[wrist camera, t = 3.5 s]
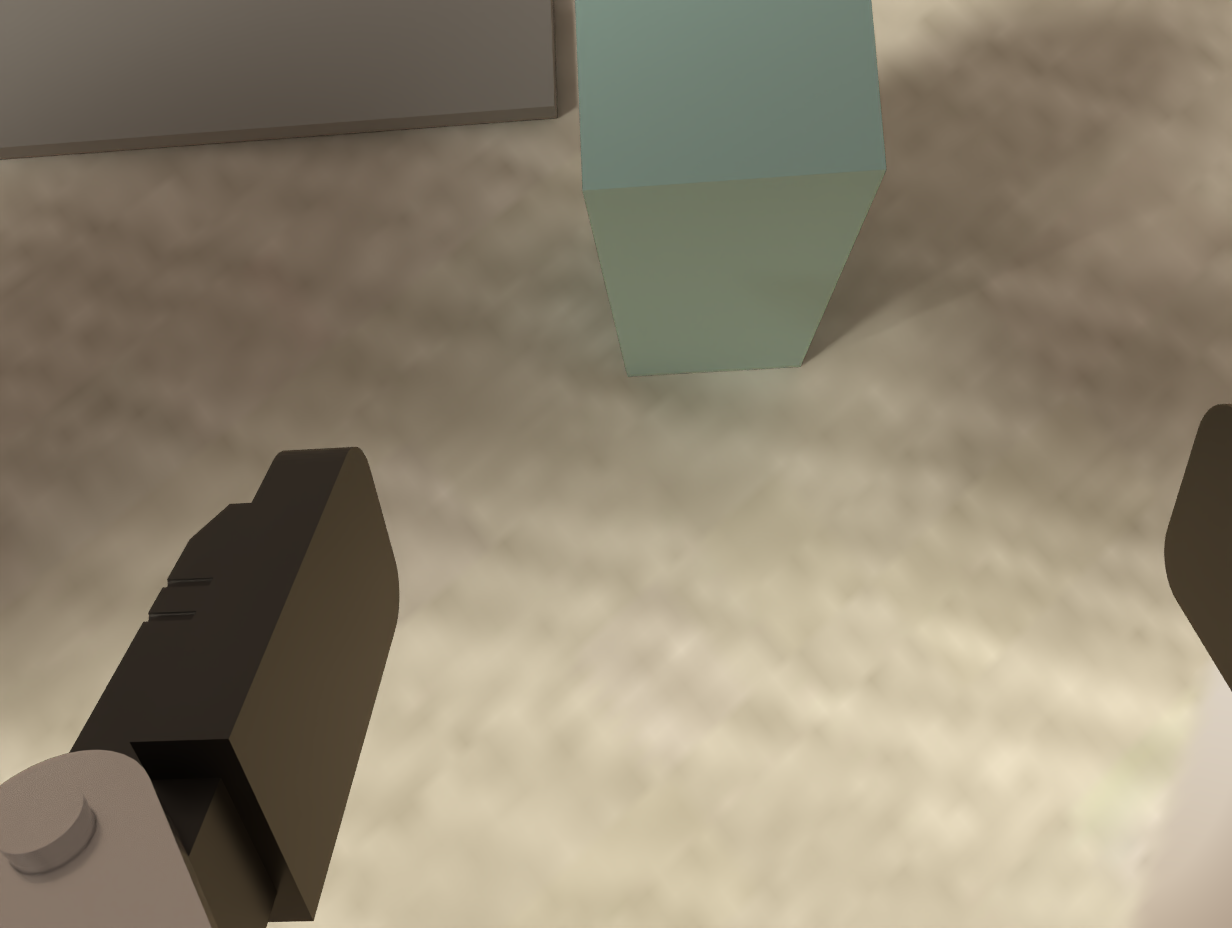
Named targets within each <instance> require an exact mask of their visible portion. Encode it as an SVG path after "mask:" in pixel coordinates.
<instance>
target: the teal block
mask: <svg viewBox="0 0 1232 928" xmlns="http://www.w3.org/2000/svg"><path fill="white" fill-rule="evenodd" d="M575 10H576V36H577V62H578V87H579V113H580V139H581V164H582V190H583V195H584V199H585V203H586V207H587V211H588V215H589V219H590V224H591V228H592V232H593V236H594V240H595V244H596V248H597V252H598V257H599V261H600V265H601V269H602V273H603V277H604V281H605V286H606V290H607V294H608V298H609V302H610V306H611V310H612V314H613V319H614V323H615V327H616V331H617V335H618V339H619V343H620V348H621V352H622V356H623V360H624V364H625V368H626V372H627V376H628V377H630V376H647V375H665V374H682V373H699V372H716V371H734V370H751V369H768V368H785V367H800V366H801V364H802V362H803V360H804V357H805V355H806V353H807V350H808V348H809V346H810V344H811V341H812V339H813V337H814V334H815V332H816V330H817V327H818V325H819V323H820V321H821V318H822V316H823V314H824V311H825V309H826V307H827V305H828V302H829V300H830V298H831V295H832V293H833V291H834V289H835V286H836V284H837V282H838V279H839V277H840V275H841V272H842V270H843V268H844V266H845V263H846V261H847V259H848V256H849V254H850V252H851V250H852V247H853V245H854V243H855V240H856V238H857V236H858V233H859V231H860V229H861V227H862V224H863V222H864V220H865V217H866V215H867V213H868V211H869V208H870V206H871V204H872V201H873V199H874V197H875V195H876V192H877V190H878V188H879V185H880V183H881V181H882V178H883V176H884V174H885V172H886V159H885V148H884V137H883V126H882V114H881V103H880V92H879V81H878V70H877V59H876V48H875V37H874V26H873V14H872V3H871V0H575Z"/></svg>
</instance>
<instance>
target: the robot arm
mask: <svg viewBox="0 0 1232 928" xmlns="http://www.w3.org/2000/svg"><path fill="white" fill-rule="evenodd" d="M1164 556H1165V567H1166V573H1167V578H1168V581H1169V585H1170V588H1171V590H1172V593H1173V595H1174V597H1175V598H1176V600H1177V602H1178V604H1179V605H1180V607H1181V609H1182V610H1183V612H1184V614H1185V615H1186V617H1187V618H1188V620H1189V622H1190V623H1191V625H1192V627H1193V628H1194V630H1195V632H1196V633H1197V635H1198V637H1199V638H1200V640H1201V642H1202V643H1203V645H1204V646H1205V648H1206V650H1207V651H1208V653H1209V655H1210V656H1211V658H1212V660H1213V661H1214V663H1215V665H1216V666H1217V668H1218V670H1219V671H1220V673H1221V675H1222V676H1223V678H1224V679H1225V681H1226V683H1227V684H1228V686H1229V688H1230V689H1231V691H1232V404H1220V405H1216V406H1214V407H1212V408H1211V409H1210V410H1208V412H1207V413H1206V414H1205V415H1204V417H1203V419H1202V421H1201V423H1200V426H1199V428H1198V431H1197V434H1196V438H1195V441H1194V444H1193V447H1192V451H1191V454H1190V457H1189V460H1188V464H1187V467H1186V470H1185V473H1184V477H1183V480H1182V483H1181V486H1180V490H1179V493H1178V496H1177V499H1176V503H1175V506H1174V509H1173V512H1172V516H1171V519H1170V522H1169V525H1168V529H1167V533H1166V538H1165V548H1164ZM167 581H168V586H167V587H166V588H162V590H161V591H160V593H159V595H158V597H157V598H156V600H155V602H154V604H153V606H152V607H151V609H150V611H149V613H148V614H149V620H148V622H143V623H142V625H141V627H140V629H139V630H138V632H137V634H136V636H135V637H134V639H133V641H132V643H131V644H130V646H129V648H128V650H127V652H126V653H125V655H124V657H123V659H122V660H121V662H120V664H119V666H118V668H117V669H116V671H115V673H114V675H113V676H112V678H111V680H110V682H109V683H108V685H107V687H106V689H105V691H104V692H103V694H102V696H101V698H100V699H99V701H98V703H97V705H96V706H95V708H94V710H93V712H92V714H91V715H90V717H89V719H88V721H87V722H86V724H85V726H84V728H83V729H82V731H81V733H80V735H79V737H78V738H77V740H76V742H75V744H74V745H73V747H72V749H71V751H70V752H69V753H67V754H63V755H60V756H57V757H54V758H50V759H47V760H45V761H43V762H40V763H38V764H36V765H33V766H31V767H29V768H27V769H26V770H24V771H22V772H20V773H18V774H17V775H15V776H13V777H12V778H10V779H9V780H7V781H6V782H4V783H3V784H1V785H0V928H266V926H267V923H268V922H290V921H314V917H315V914H316V910H317V907H318V903H319V899H320V896H321V892H322V889H323V885H324V882H325V878H326V874H327V871H328V867H329V864H330V860H331V857H332V853H333V850H334V846H335V842H336V839H337V835H338V832H339V828H340V825H341V821H342V817H343V814H344V810H345V807H346V803H347V800H348V796H349V792H350V789H351V785H352V782H353V778H354V775H355V771H356V767H357V764H358V760H359V757H360V753H361V750H362V746H363V743H364V739H365V735H366V732H367V728H368V725H369V721H370V718H371V714H372V710H373V707H374V703H375V700H376V696H377V693H378V689H379V685H380V682H381V678H382V675H383V671H384V668H385V664H386V660H387V657H388V653H389V650H390V646H391V643H392V639H393V636H394V632H395V628H396V624H397V619H398V611H399V580H398V572H397V566H396V562H395V558H394V554H393V551H392V547H391V543H390V540H389V536H388V532H387V529H386V525H385V521H384V518H383V514H382V510H381V507H380V503H379V500H378V496H377V492H376V489H375V485H374V481H373V478H372V474H371V470H370V467H369V464H368V461H367V459H366V456H365V455H364V453H363V452H362V450H361V449H360V448H358V447H346V448H327V449H307V450H288V451H282V452H280V453H279V454H278V455H277V456H276V457H275V459H274V460H273V462H272V464H271V466H270V468H269V470H268V472H267V474H266V476H265V478H264V480H263V482H262V484H261V486H260V488H259V490H258V491H257V493H256V495H255V497H254V499H253V501H252V503H240V504H229V505H228V506H227V507H226V508H225V509H224V510H223V511H221V512H220V513H219V514H218V515H217V516H216V517H215V518H214V519H212V520H211V521H210V522H209V523H208V524H207V525H206V526H204V527H203V528H202V529H201V530H200V531H199V532H198V533H197V534H195V535H194V536H193V537H192V538H191V539H190V540H189V542H188V544H187V545H186V547H185V549H184V551H183V552H182V554H181V556H180V558H179V560H178V561H177V563H176V565H175V567H174V568H173V570H172V572H171V574H170V575H169V577H168V579H167Z"/></svg>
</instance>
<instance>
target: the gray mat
mask: <svg viewBox="0 0 1232 928" xmlns="http://www.w3.org/2000/svg"><path fill="white" fill-rule="evenodd" d="M549 118H557V95H556V67H555V38H554V10H553V0H0V159H11V158H25V157H38V156H52V155H65V154H79V153H92V152H106V151H119V150H132V149H146V148H159V147H173V146H186V145H200V144H213V143H227V142H240V141H253V140H267V139H280V138H294V137H307V136H321V135H334V134H348V133H361V132H374V131H388V130H401V129H415V128H428V127H442V126H455V125H468V124H482V123H495V122H509V121H522V120H536V119H549Z"/></svg>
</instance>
